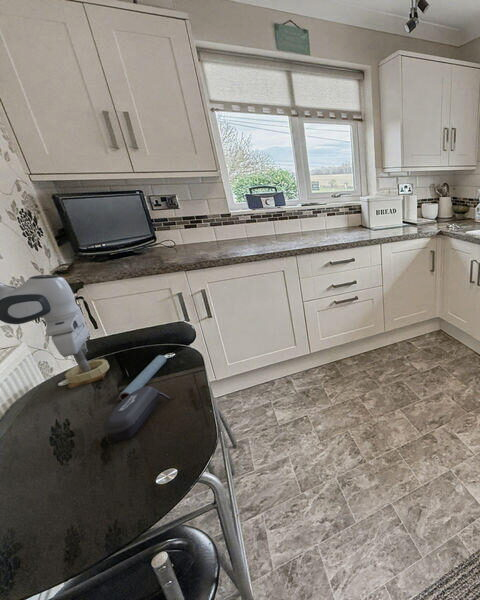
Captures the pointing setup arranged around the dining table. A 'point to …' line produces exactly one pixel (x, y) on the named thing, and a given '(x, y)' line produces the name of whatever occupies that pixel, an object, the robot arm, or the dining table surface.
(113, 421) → the glasses case
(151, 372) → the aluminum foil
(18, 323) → the robot arm
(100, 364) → the tape
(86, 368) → the stand
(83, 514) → the dining table surface
